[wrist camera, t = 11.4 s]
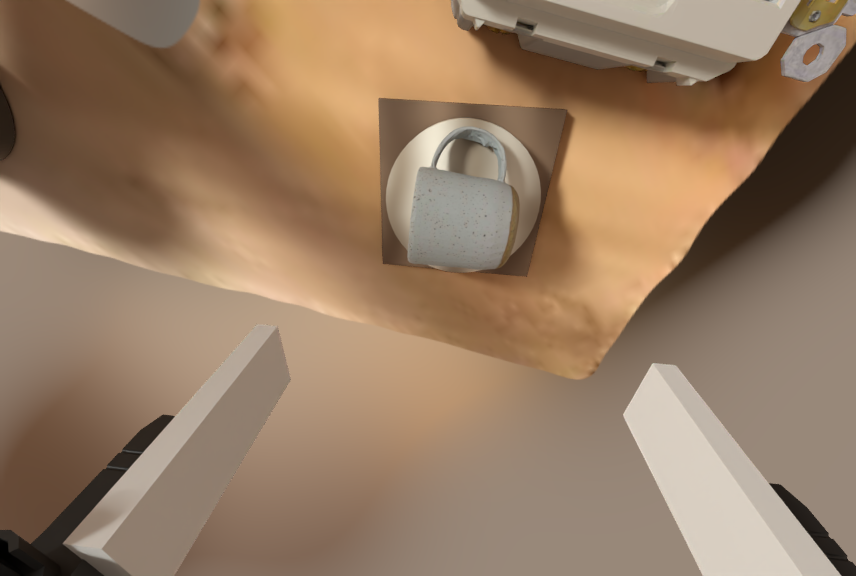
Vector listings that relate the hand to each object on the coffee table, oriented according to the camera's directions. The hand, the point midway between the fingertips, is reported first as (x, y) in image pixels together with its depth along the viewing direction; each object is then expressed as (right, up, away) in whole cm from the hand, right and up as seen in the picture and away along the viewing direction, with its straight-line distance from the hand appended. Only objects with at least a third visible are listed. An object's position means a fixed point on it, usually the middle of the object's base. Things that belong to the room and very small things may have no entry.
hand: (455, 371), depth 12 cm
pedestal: (+2, +12, +21) cm, 24 cm away
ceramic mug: (+2, +12, +17) cm, 21 cm away
